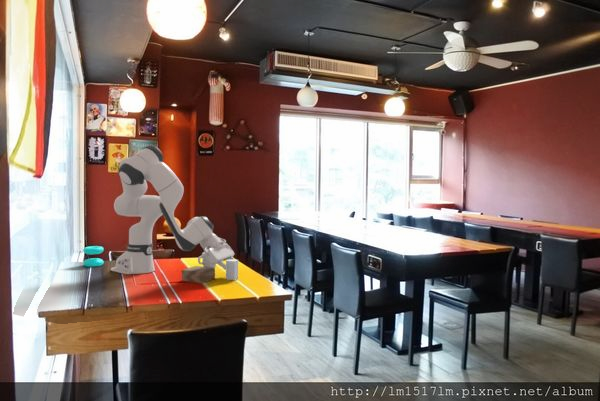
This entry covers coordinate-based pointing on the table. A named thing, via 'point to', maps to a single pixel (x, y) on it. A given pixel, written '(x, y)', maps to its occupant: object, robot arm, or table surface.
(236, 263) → the block
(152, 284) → the table surface
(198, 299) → the table surface
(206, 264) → the cup
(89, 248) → the donuts
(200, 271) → the base
